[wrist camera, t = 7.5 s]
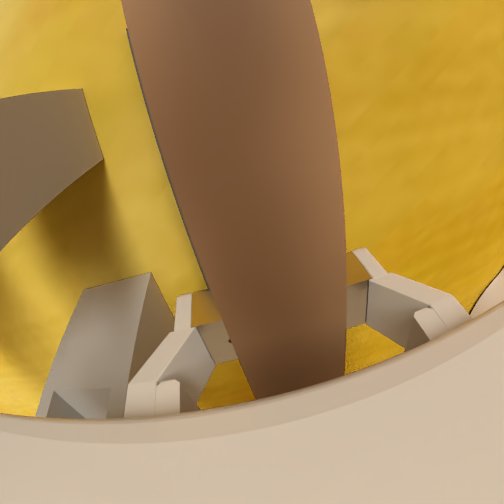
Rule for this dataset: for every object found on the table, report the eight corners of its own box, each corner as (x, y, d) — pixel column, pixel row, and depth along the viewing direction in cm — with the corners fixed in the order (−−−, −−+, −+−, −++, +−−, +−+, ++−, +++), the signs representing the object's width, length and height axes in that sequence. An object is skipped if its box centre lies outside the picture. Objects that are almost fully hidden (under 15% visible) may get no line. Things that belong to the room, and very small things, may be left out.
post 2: (151, 272, 21) (121, 427, 11) (174, 319, 24) (168, 460, 13) (83, 289, 21) (33, 422, 11) (111, 331, 24) (84, 457, 13)
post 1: (82, 88, 14) (-71, 118, 3) (103, 158, 16) (-15, 268, 6) (11, 130, 14) (-121, 200, 3) (33, 191, 16) (-77, 300, 6)
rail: (248, -62, 4) (268, -113, 2) (323, 401, 16) (337, 441, 14) (135, -38, 4) (107, -83, 2) (274, 415, 16) (283, 456, 14)
